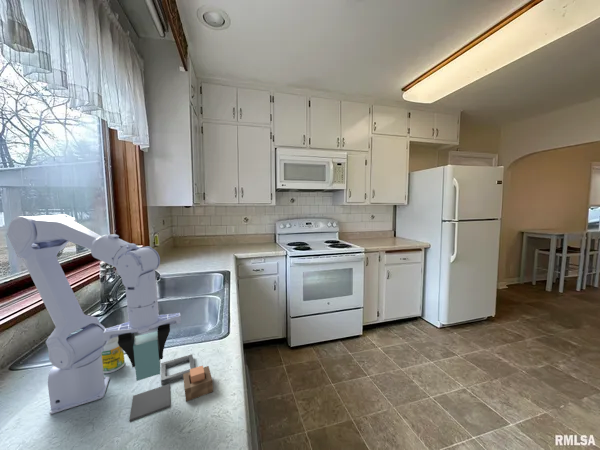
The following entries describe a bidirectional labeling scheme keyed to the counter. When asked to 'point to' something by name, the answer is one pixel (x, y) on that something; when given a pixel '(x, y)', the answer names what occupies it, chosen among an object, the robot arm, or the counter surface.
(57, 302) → the robot arm
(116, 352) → the supplement bottle
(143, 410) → the rubber mat
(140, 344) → the pale teal upright block
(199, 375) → the orange block
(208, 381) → the housing
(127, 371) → the counter surface
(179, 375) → the holder collar
